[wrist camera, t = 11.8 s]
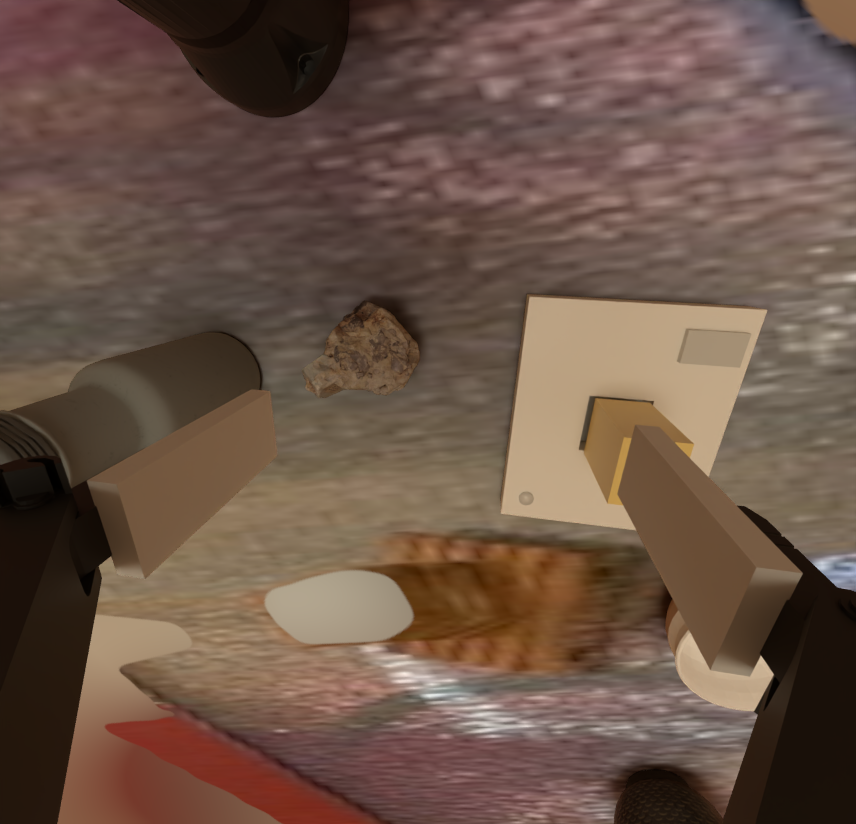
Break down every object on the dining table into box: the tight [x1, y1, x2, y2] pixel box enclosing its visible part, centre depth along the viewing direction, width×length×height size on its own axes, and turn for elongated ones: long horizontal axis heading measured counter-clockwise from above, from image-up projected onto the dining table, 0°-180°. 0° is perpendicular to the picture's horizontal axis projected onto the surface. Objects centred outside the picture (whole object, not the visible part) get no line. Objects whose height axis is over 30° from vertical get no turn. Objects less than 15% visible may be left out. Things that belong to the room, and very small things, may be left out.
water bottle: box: [0, 332, 260, 488], centre depth 34 cm, size 10×10×28 cm
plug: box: [584, 398, 694, 505], centre depth 36 cm, size 6×5×13 cm
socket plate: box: [500, 294, 767, 530], centre depth 41 cm, size 24×20×4 cm
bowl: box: [665, 599, 774, 711], centre depth 45 cm, size 16×16×8 cm
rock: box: [302, 301, 420, 398], centre depth 40 cm, size 9×12×10 cm
